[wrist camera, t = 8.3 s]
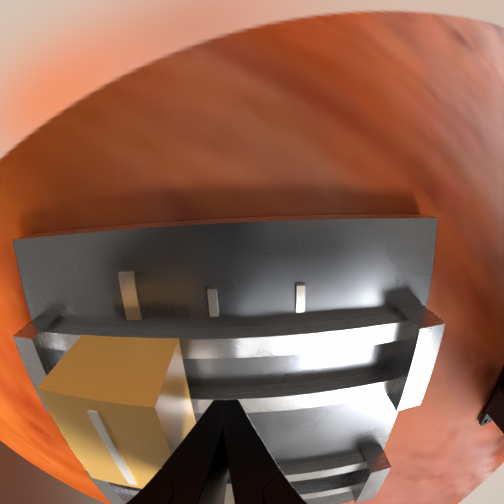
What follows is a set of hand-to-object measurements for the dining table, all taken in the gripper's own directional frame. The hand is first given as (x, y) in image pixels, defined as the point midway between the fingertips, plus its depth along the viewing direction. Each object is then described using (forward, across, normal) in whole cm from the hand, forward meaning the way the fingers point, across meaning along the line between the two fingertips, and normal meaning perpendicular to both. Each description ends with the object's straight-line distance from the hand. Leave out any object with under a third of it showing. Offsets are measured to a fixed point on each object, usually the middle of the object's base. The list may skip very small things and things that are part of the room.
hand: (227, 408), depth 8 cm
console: (+4, 0, +5) cm, 6 cm away
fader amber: (+2, +3, 0) cm, 4 cm away
